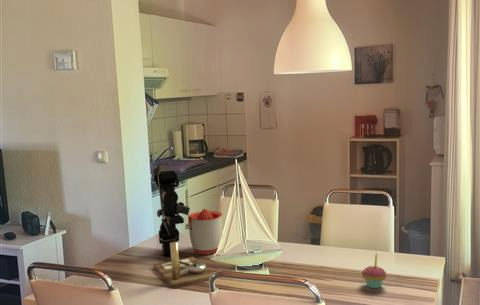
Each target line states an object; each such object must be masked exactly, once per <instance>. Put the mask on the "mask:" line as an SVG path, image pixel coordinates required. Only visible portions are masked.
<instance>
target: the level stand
mask: <svg viewBox="0 0 480 305" xmlns="http://www.w3.org/2000/svg"><path fill="white" fill-rule="evenodd" d="M179 261H182V262H185V263H188V264H192V263H201V261H199V260H198V259H197V258H195V256H189V257H183V258H179ZM179 266H180V271H181V270H184V269H187V268H188V266H187V265H184V264H181V263H179ZM153 268H154V269H155V270H156V272H157V273H158V274H159V275H160V276H161V277H162V278H163V279H164V280H165V281H166V282H167V283H168V284H169V286H170V287H171V288H172V289H178V288H182V287H187V286H191V285H196V284H201V283H205V282H209V281H210V280H209V277H210V275H211V274H212V273H214V272H213V271H212V270H210V269H209V268H208V267H206V271H205V272H203V273H198V274H192V273H189V272H188V273H185V274H182V275H180V278H179V279H173V278H172V264H171V260H169V261H164V262H159V263H154V264H153ZM208 280H209V281H208ZM204 281H205V282H204ZM200 282H201V283H200Z"/></svg>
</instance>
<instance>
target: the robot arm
mask: <svg viewBox="0 0 480 305" xmlns="http://www.w3.org/2000/svg"><path fill="white" fill-rule="evenodd" d="M152 179H153V182H154V185H155V188H156V189H157V190H158V192H159V199H160V200H159V201H160V209H158V210H157V211H156V216H157V217H158V218H161V217H162V218H161V223H160V226H159V230H158V242H159V245H160V244H161V250H162V252H161V253H159V256H162V257H166V258H171V250H170V242H175V241H176V242H178V243H179V241H180V231H179V229H178V228H177V225H179V224H181V225H182V224H183V223H185V218H184V217H183V216H181V215H186V216H189V215H190V214H189V213H190V209H191V207H189V206H187V205H185V204H184V202H182V201H179V202H178V200H179V195H178V193H177V191H176V188H179V185H180V181H179V174H178V173H177V172H176V171H175V170H174V169H171V167H170V166H169V163H168V162H161V163H157V164H156V167H155V168H154V169H153V170H152ZM180 214H181V215H180Z"/></svg>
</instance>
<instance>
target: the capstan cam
mask: <svg viewBox="0 0 480 305" xmlns="http://www.w3.org/2000/svg"><path fill="white" fill-rule="evenodd" d="M170 250H171V257H170V261H171V264H172V278H173V279H179V278H180V275H182V274H185V273H188V272H189V273H192V274H198V273H203V272H205V271H206V268H207V264H206V263H203V262H200V263H192V264H188V263H185V262H182V261H179V259H180V256H179V255H180V252H179V241H178V242H176V241H175V242H170ZM179 263H181V264H184V265H187V266H188V268H187V269H184V270H181V271H180V266H179Z"/></svg>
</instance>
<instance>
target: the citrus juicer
mask: <svg viewBox="0 0 480 305" xmlns="http://www.w3.org/2000/svg"><path fill="white" fill-rule="evenodd" d="M187 216H188V223H186V224H185V226H184V230H189V239H190V244H191V246H192V249H193V251H194V253H195V254H199V256H200V255H202V256H203V255H211V254H215V252H216V251H217V249H218V245H219V242H220V238H221V234H222V235H223V233H222V232H223V213H222V212H220V211H214V210H212V211H211V210H208V209H206V208H203V209H202V210H201V211H198V212H197V211H196V212H191V213H190V214H188V215H187Z"/></svg>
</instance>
